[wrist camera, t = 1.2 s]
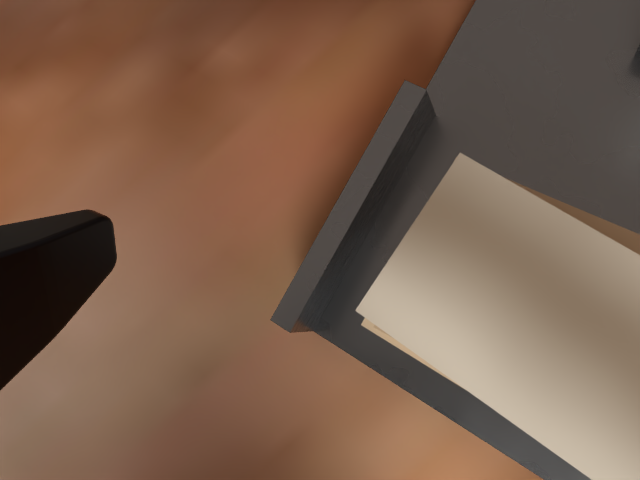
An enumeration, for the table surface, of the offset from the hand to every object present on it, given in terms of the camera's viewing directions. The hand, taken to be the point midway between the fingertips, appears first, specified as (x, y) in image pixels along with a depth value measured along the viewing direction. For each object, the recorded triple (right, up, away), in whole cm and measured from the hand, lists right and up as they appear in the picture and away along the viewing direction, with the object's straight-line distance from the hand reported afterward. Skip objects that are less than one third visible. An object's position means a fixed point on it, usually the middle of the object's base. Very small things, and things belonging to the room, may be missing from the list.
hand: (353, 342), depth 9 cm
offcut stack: (+7, -1, +11) cm, 13 cm away
